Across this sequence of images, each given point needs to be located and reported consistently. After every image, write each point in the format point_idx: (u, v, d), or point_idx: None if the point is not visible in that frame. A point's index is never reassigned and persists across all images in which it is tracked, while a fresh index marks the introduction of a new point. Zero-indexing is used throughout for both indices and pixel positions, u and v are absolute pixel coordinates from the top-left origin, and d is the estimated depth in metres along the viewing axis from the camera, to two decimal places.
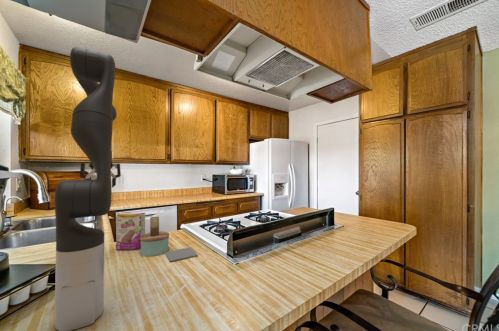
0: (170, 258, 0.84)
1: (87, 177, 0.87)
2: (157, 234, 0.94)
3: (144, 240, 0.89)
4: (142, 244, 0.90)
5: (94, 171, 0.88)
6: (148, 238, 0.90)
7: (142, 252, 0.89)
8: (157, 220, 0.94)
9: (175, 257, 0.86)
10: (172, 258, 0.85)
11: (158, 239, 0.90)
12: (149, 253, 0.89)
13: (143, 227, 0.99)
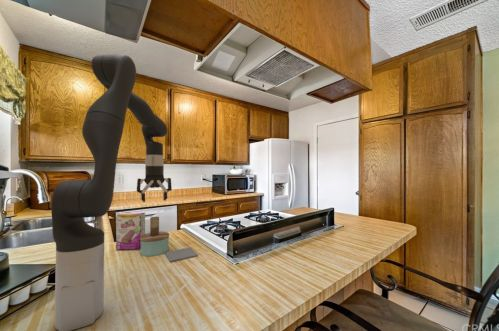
0: (170, 258, 0.84)
1: (143, 192, 0.92)
2: (157, 234, 0.94)
3: (144, 240, 0.89)
4: (142, 244, 0.90)
5: (149, 186, 0.93)
6: (148, 238, 0.90)
7: (142, 252, 0.89)
8: (157, 220, 0.94)
9: (175, 257, 0.86)
10: (172, 258, 0.85)
11: (158, 239, 0.90)
12: (149, 253, 0.89)
13: (143, 227, 0.99)
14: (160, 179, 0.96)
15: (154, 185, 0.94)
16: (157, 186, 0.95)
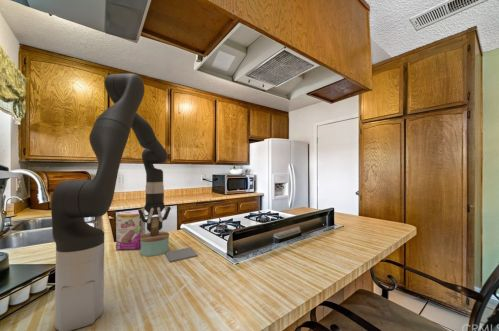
0: (170, 258, 0.84)
1: (149, 221, 0.93)
2: (157, 234, 0.94)
3: (144, 240, 0.89)
4: (142, 244, 0.90)
5: (149, 214, 0.92)
6: (148, 238, 0.90)
7: (142, 252, 0.89)
8: (157, 220, 0.94)
9: (175, 257, 0.86)
10: (172, 258, 0.85)
11: (158, 239, 0.90)
12: (149, 253, 0.89)
13: (143, 227, 0.99)
14: (161, 207, 0.95)
15: (154, 212, 0.94)
16: (157, 213, 0.95)
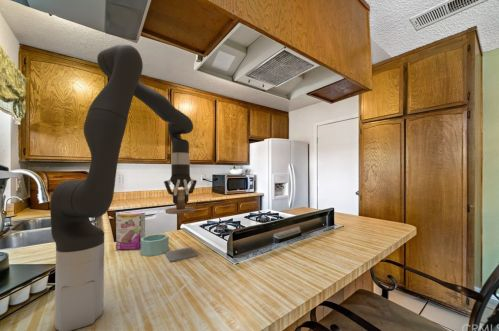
0: (170, 258, 0.84)
1: (175, 194, 0.88)
2: (183, 207, 0.89)
3: (171, 212, 0.84)
4: (142, 244, 0.90)
5: (176, 185, 0.88)
6: (175, 210, 0.86)
7: (142, 252, 0.89)
8: (183, 193, 0.90)
9: (175, 257, 0.86)
10: (172, 258, 0.85)
11: (186, 211, 0.86)
12: (149, 253, 0.89)
13: (143, 227, 0.99)
14: (187, 179, 0.91)
15: (180, 185, 0.90)
16: (183, 186, 0.90)
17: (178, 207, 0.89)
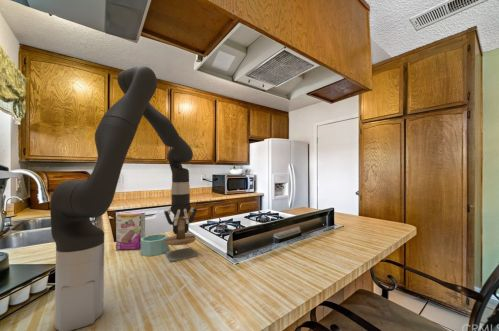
0: (170, 258, 0.84)
1: (175, 224, 0.88)
2: (184, 237, 0.89)
3: (171, 243, 0.84)
4: (142, 244, 0.90)
5: (176, 215, 0.88)
6: (175, 241, 0.85)
7: (142, 252, 0.89)
8: (183, 222, 0.89)
9: (175, 257, 0.86)
10: (172, 258, 0.85)
11: (186, 242, 0.85)
12: (149, 253, 0.89)
13: (143, 227, 0.99)
14: (187, 208, 0.91)
15: (180, 214, 0.89)
16: (183, 215, 0.90)
17: (178, 237, 0.88)
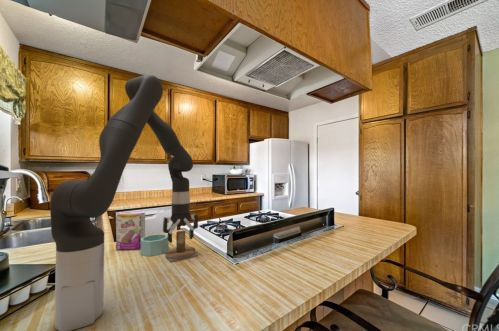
0: None
1: (170, 232, 0.87)
2: (184, 250, 0.89)
3: (171, 257, 0.84)
4: (142, 244, 0.90)
5: (176, 225, 0.87)
6: (175, 255, 0.85)
7: (142, 252, 0.89)
8: (184, 235, 0.89)
9: None
10: None
11: (186, 256, 0.85)
12: (149, 253, 0.89)
13: (143, 227, 0.99)
14: (187, 217, 0.90)
15: (181, 224, 0.89)
16: (184, 224, 0.90)
17: (178, 250, 0.88)
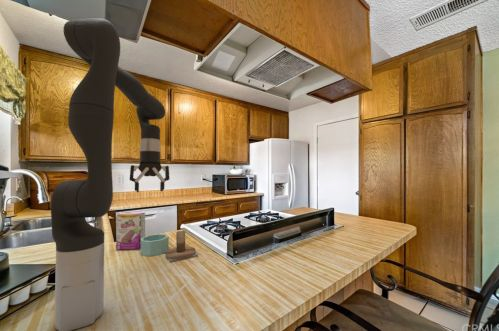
0: None
1: (137, 180, 0.81)
2: (184, 250, 0.89)
3: (171, 257, 0.84)
4: (142, 244, 0.90)
5: (144, 174, 0.82)
6: (175, 255, 0.85)
7: (142, 252, 0.89)
8: (184, 235, 0.89)
9: None
10: None
11: (186, 256, 0.85)
12: (149, 253, 0.89)
13: (143, 227, 0.99)
14: (156, 167, 0.84)
15: (149, 173, 0.83)
16: (153, 174, 0.84)
17: (178, 250, 0.88)
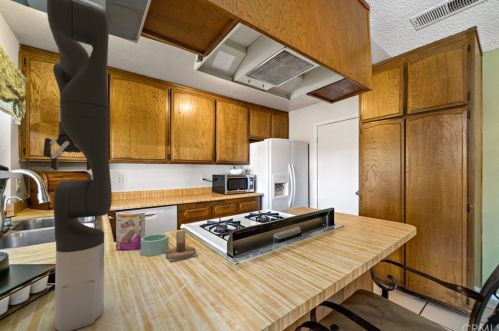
0: None
1: (53, 156, 0.68)
2: (184, 250, 0.89)
3: (171, 257, 0.84)
4: (142, 244, 0.90)
5: (63, 149, 0.69)
6: (175, 255, 0.85)
7: (142, 252, 0.89)
8: (184, 235, 0.89)
9: None
10: None
11: (186, 256, 0.85)
12: (149, 253, 0.89)
13: (143, 227, 0.99)
14: None
15: (71, 149, 0.71)
16: (76, 150, 0.71)
17: (178, 250, 0.88)
